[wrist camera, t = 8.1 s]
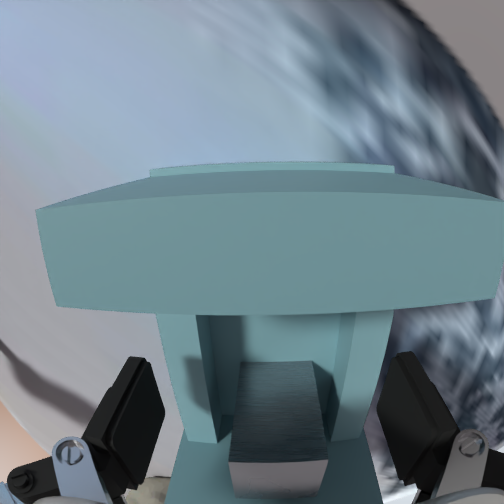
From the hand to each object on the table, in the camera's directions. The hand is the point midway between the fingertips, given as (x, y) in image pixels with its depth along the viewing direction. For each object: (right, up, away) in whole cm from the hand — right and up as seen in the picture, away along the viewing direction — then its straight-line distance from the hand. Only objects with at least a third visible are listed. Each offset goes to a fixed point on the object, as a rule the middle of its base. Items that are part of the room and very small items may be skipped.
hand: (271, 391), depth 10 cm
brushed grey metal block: (+1, -2, +5) cm, 5 cm away
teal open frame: (0, +1, +5) cm, 5 cm away
